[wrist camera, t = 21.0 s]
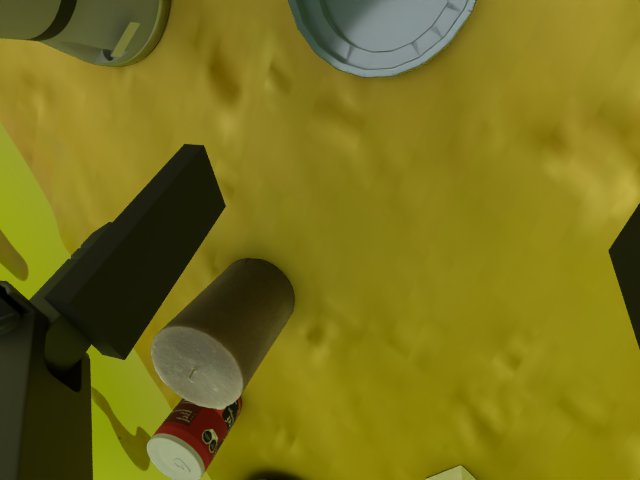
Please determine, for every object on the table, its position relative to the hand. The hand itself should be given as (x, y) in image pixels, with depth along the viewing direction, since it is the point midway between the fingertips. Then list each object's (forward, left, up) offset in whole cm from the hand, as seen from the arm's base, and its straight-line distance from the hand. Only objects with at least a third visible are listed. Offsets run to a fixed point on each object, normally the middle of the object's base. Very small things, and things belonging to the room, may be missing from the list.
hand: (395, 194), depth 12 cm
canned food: (+1, -48, -25) cm, 54 cm away
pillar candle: (-3, -28, -25) cm, 37 cm away
